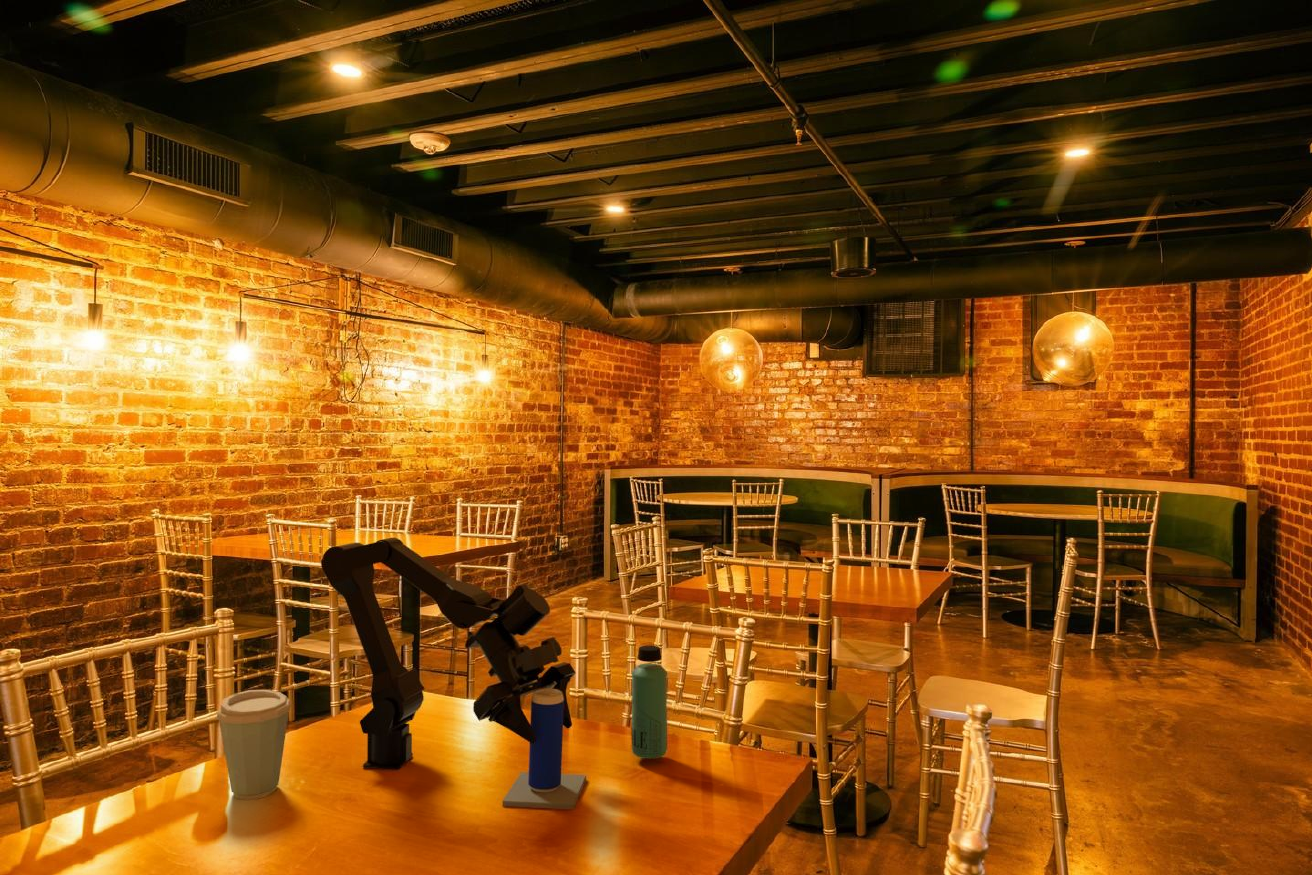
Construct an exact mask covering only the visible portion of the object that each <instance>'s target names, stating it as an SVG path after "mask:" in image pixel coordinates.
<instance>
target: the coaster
mask: <svg viewBox="0 0 1312 875" xmlns="http://www.w3.org/2000/svg"><path fill="white" fill-rule="evenodd" d="M528 778H529V771H527V772H526V771H525V772H524V771H521V772H520V773H519V775H518V776H517V777H516V778H515V781H514V782H513V784H512V786H511V787H510V788H509V790H508V792H507V793H506V795H505V797H504V798H503V799H502V807H514V808H516V807H517V808H530V809H531V808H533V809H534V808H535V809H551V810H552V809H555V810H572V811H573V810H574V809H575V807H576V803H577V801H578V800H579V797H580V795H581V793H582V790H583V789H584V786H585V784H586V781H587V775H586V774H571V773H566V774H565V773H561V784H560V786H559V787H558V788H557V789H556V790H554V791H552V792H547V793H540V792H536V791H533V790H532V789H531V788H530V786H529V784H528Z"/></svg>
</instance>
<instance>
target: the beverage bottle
mask: <svg viewBox="0 0 1312 875" xmlns="http://www.w3.org/2000/svg"><path fill="white" fill-rule="evenodd" d="M661 650H662V649H661V648H660V647H659V646H657V645H652V644H651V645H642V646H639V647H638V652H637V660H638V661H641V662H646V663H640V664H638V665H637V666H636V667H635V668H634V669H633V670H632V671H631V676H632V681H631V682H632V684H631V686H632V687H631V694H630V695H631V703H630V705H631V731H630V738H631V739H630V740H631V750H632V753H633V755H634V756H636V757H638V758H642V759H657V758H661V757H663V756H665V755H666V753H667V751H668V742H669V741H668V740H669V739H668V738H669V737H668V733H669V731H668V727H669V726H668V709H667V703H668V702H667V700H668V699H667V695H668V693H667V690H668V689H667V684H668V683H667V681H668V680H667V678H668V672H667V670H666V669H665V668H664V667H663V666H662V665H661V664H658V663H654V662H658V661H660V660H662V654H661V653H662V652H661Z"/></svg>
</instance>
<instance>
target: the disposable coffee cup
mask: <svg viewBox="0 0 1312 875" xmlns="http://www.w3.org/2000/svg"><path fill="white" fill-rule="evenodd" d="M291 706H292V705H291V700H290V699H289V698H288V696H287V695H285V694H283V693H282V692H279V691H275V690H270V689H269V690H268V689H249V690H248V689H247V690H245V691H240V692H236V693H233V694H231V695H228V696H227V697H225V698H223V699H222V701H221V704H220V707H219V710H218V711H217V713H216V720H217V721H218V723H219V728H220V735H221V739H222V745H223V751H224V756H225V761H226V767H227V773H228V778H229V779H228V780H229V784H230V785H229V786H230V789H231V793H233V797H235V798H236V799H238V800H244V801H245V800H246V801H249V800H250V801H251V800H256V799H257V800H258V799H261V798H264V797H266V796H270V795H271V794H273V793H274V792H275V791H277V788H278V786H279V782H280V777H281V770H282V769H281V768H282V762H283V754H284V747H285V741H286V735H287V734H286V733H287V726H288V720H289V713H290V712H289V711H290V710H291Z"/></svg>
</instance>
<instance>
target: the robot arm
mask: <svg viewBox="0 0 1312 875" xmlns="http://www.w3.org/2000/svg"><path fill="white" fill-rule="evenodd" d="M403 542H404V541H402V540H401V539H399V538H396V537H387V538H383V539H382V538H381V539H379V540H377V541H375V542H372V543H368V544H363V543H361V542H351V543H346V544H340V545H335V546H331V547H329V548H328V549H326V551H325V552H324V553H323V556H322V559H321V560H320V567H321V570H322V572H323V573H324V575H325V577H326V579H327V581H328V582H329V585H330V586H331V587H332V588H333V589H334V590H335V591H336V592H338V593H339V595H341V597H343V598H344V601H345V603H346V606H347V609H348V612H349V614H350V617H351V620H352V622H353V625H354V628H355V631H356V634H357V636H358V639H359V641H360V644H361V646H362V649H363V652H364V654H365V657H366V661H367V663H368V665H369V669H370V671H371V675H372V680H371V687H370V688H371V689H370V699H371V701H372V708H371V710H369V711H368V712H367V713H366V715H364V717H362V718H361V719H360V720H359V725H360V728H361V732H362V734H364V735H365V734H366V735H367V736H366V737H367V738H366V739H367V743H366V744H367V747H366V748H367V750H366V752H367V754H366V755H367V756H366V757H367V758H366V761H365V762H364V763H363V764H362V768H365V769H382V770H383V769H384V770H399V769H401V768H402V767H403V766H404V765H406V763H407V762H408V761H409V760H410V759H411V758H412V757H413V756H414V754H413V751H412V746H413V741H412V740H413V734H412V733H411V732H410V724H409V723H408V722H410V721H413V720H414V718H415V715H416V712H418V711H419V709H420V708H421V707H422V705H423V702H424V697H425V696H424V692H423V691H424V690H425V687H424V685H423V684H422V682H421V680H420V676H419V671H418V670H417V668H415V667H414V668H412V669H410V670H409V669H407V668H406V667H405V666H404V665H403V664H402V663H401V660H400V658H399V656H398V653H397V650H396V647H395V644H394V643H393V639H392V637H391V634H390V631H389V629H388V625H387V624H386V620H385V618H384V615H383V612H382V610H381V607H380V605H379V601H378V599H377V596H376V593H375V591H374V586H373V585H374V576H375V566H374V565H375V564H383V565H384V566H386V568H389V569H390V570H391V571H393V572H394V573H395V574H396V575H399V576H400V577H402V578H403V579H404V581H405V580H406V581H407V582H408V583H409V584H411V585H412V586H414V587H415V588H417V590H420V591H421V592H423V594H425V595H427V596H428V597H430V599H432V600H433V601H434V602H435V603H436V605H437V607H438V609H439V611H440V613H441V615H443V616H444V617H445V618H446V619H447V620H448V621H449V622H450V623H451V624H452V625H453V626H454V627H456V628H458V629H462V630H465V629H470V628H472V627H474V626H476V625H479V624H481V623H483V622H484V623H483V624H482V626H480V627H479V628H478V629H476V631H475V630H473V631H471V630H470V631H468V632H467V639H466V640H465V645H464V646H465V649H475V648H476V649H478V648H480V650H481V652H482V653H483V655H484V657H485V658H486V661H487V662H488V663H489V666H490V667H491V668H490V669H489V670H488V671H487V673H488V675H489V677H491V678H493V677H496V678H497V679H498V680H499V682H498V683H494V684H491V685H488V686H487V687H486V688H485V689H484V690H483V691H482V692H481V694H480V695H479V696H478V697H477V698H476V699H475V700H474V701H473V707H472V708H473V709H472V710H473V713H474V715H475V716H476V718H477V720H478V721H479V722H480V721H482V720H485V719H488V722H490V723H492V722H494V723H497V724H498V725H500V726H502V727H504V728H506V729H508V730H509V731H511V732H513V733H514V734H515V735H516V734H517V735H518V736H519V737H521V738H522V739H524V740H526V741H527V742H529V744H530V743H532V744H533V743H535V742H536V741H537V738H536V735H535V733H534V731H533V729H532V727H531V725H530V723H531V722H529V720H528V718H527V717H526V715H525V713H524V711H523V709H522V706H521V697H524V696H527V695H530V694H533V693H534V692H535V691H537V690H540V689H557V690H560V691H561V692H562V694H563V697H564V711H563V727H564V728H566V729H567V730H568V729H570V728H571V727H572V726H573V721H572V717H571V712H570V708H569V703H568V699H567V688H568V685H569V683H570V682H571V679H572V678H573V677H574V676H575V675H576V674H577V672H576V671H575V669H574V668H573V666H572V665H571V663H569V662H566V661H563V662H560V663H558V662H559V658H558V657H559V656H561V655H562V653H563V652H562V647H561V645H560V643H559V642H558V641H557V639H556V638H555V637H550V638H546V639H545V640H542V641H541V642H540V645H538V646H535V647H533V648H530V647H529V646H528V645H524V646H521V645H520V643H519V642H518V641H519V640H517V637H515V636H522V637H525V636H527V635H528V634H529V633H530V632H531V631H532V630H533V629H534V628H535V627H536V626H537V625H539V623H540V622H542V621H544V619H545V618H546V617H547V616H548V615H549V614H550V612H551V608H550V605H549V603H548V601H547V600H546V599H545V597H544V596H543V595H542V594H539V593H538V592H537V591H536V590H534V589H532V588H529V587H528V585H526V583H521V584H519V585H518V586H516V587H515V589H514V590H513V591H512V593H510V595H508V597H507V598H506V599H503V598H498V597H494V596H492V595H491V594H490V593H489V592H488V591H487V590H486V589H483V588H480V587H478V586H477V585H475V584H472V583H470V582H465V581H462V580H459V579H455V578H453V577H452V576H450V575H448V574H447V573H446V572H444V571H442V569H441V568H438V566H435V565H434V564H433V563H431V562H430V561H428V560H427V559H426V558H424V557H422V556H421V555H420V554H418V553H417V552H415V551H414V550H413V549H411V548H410V547H408V546H407V545H405V544H404V543H403ZM495 617H496V618H495ZM492 618H495V619H493V620H492V621H488V620H490V619H492ZM552 663H556V664H553V665H550V664H552ZM547 665H550V666H549V667H548V669H547V670H546V668H545V666H547ZM545 670H546V671H545ZM544 671H545V672H544ZM543 672H544V673H543ZM542 673H543V674H542ZM540 674H542V676H540V677H539V675H540Z"/></svg>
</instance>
